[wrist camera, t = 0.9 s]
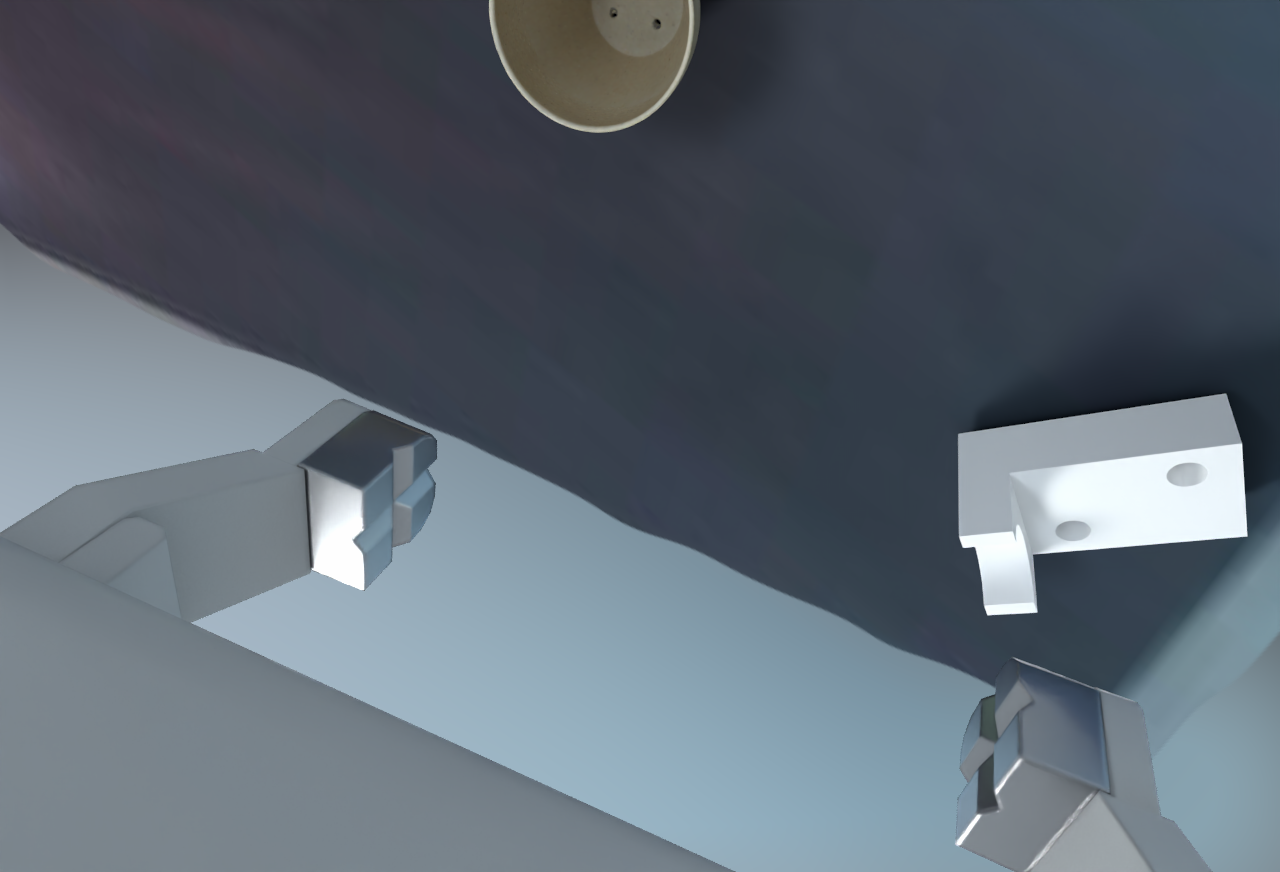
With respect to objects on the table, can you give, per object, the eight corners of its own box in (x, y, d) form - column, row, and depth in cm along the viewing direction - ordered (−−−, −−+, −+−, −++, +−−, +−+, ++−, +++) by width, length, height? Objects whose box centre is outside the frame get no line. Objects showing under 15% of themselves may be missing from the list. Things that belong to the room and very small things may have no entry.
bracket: (983, 512, 54) (987, 615, 49) (958, 433, 50) (959, 536, 45) (1232, 486, 48) (1265, 599, 43) (1226, 393, 44) (1262, 507, 39)
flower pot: (674, 140, 48) (628, 174, 42) (526, 36, 48) (460, 56, 42) (773, -38, 42) (735, -26, 36) (603, -156, 42) (538, -164, 36)
